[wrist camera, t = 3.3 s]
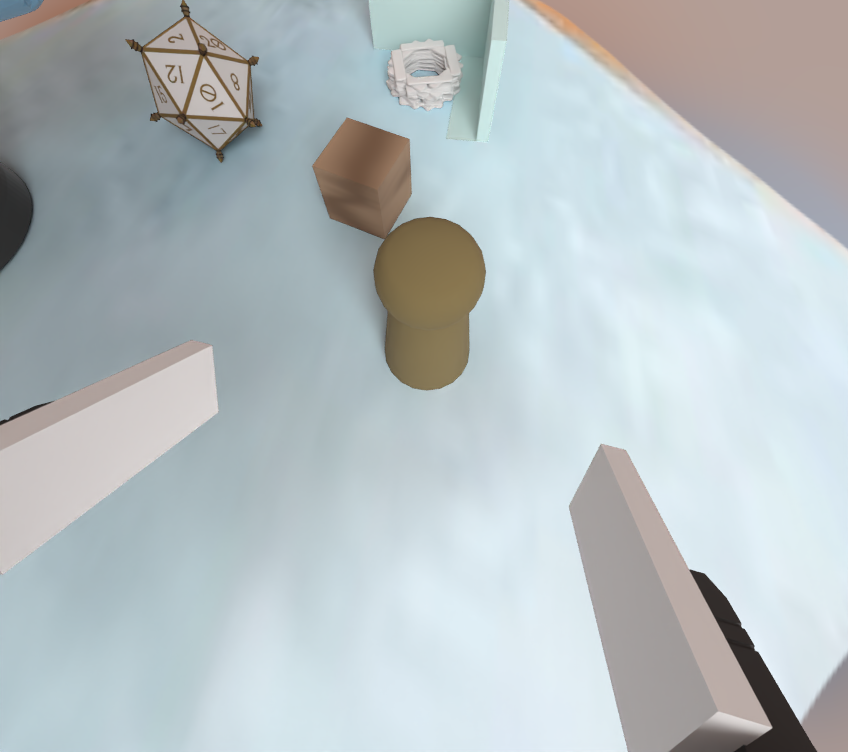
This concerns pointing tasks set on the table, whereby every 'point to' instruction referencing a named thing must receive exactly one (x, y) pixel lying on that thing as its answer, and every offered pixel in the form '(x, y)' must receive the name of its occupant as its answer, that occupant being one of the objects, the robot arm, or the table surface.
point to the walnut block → (365, 177)
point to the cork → (428, 299)
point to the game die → (199, 83)
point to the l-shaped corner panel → (445, 56)
